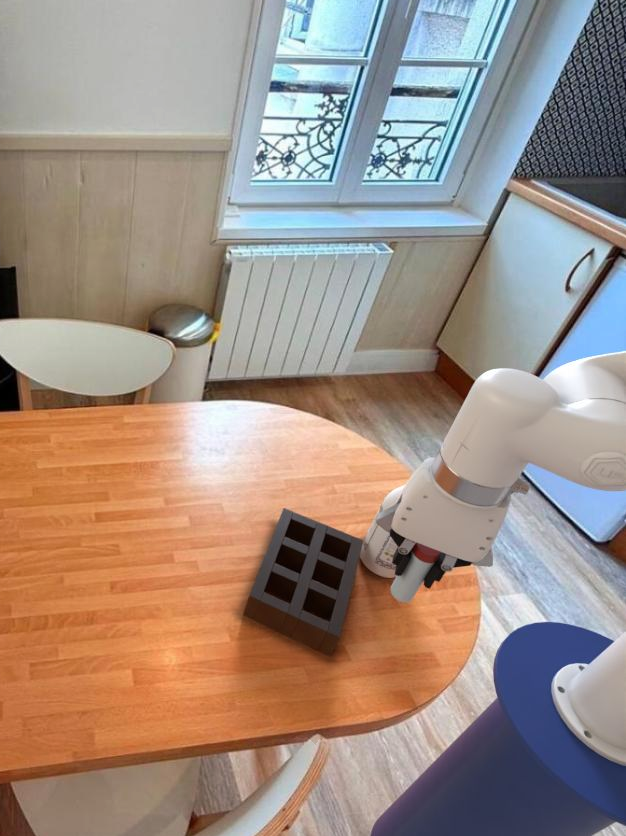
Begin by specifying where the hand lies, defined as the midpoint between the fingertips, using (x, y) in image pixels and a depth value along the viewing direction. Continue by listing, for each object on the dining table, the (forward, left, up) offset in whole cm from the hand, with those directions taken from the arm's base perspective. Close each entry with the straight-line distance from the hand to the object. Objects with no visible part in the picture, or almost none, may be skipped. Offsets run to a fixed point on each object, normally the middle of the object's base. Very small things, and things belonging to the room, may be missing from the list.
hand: (413, 572), depth 77 cm
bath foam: (+1, -13, -15) cm, 20 cm away
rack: (+11, -2, -15) cm, 19 cm away
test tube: (0, 0, -5) cm, 5 cm away
